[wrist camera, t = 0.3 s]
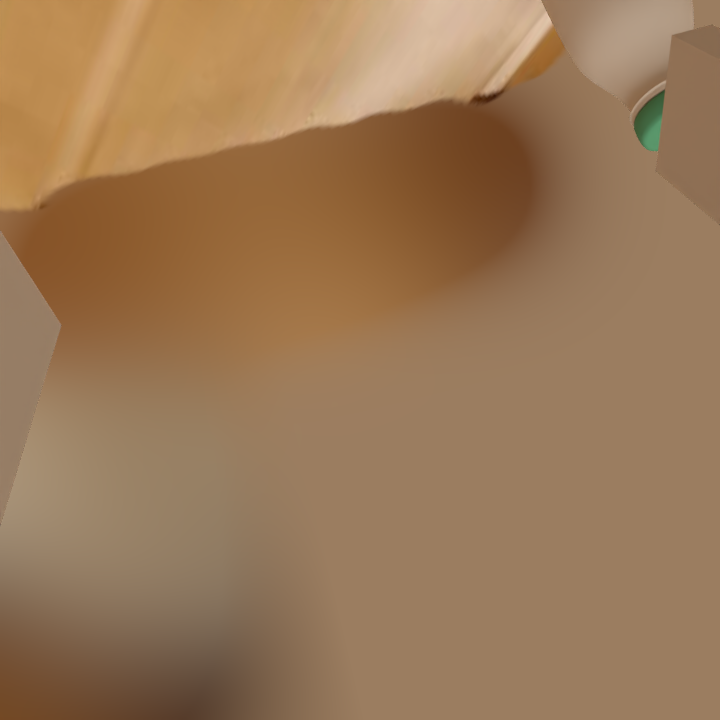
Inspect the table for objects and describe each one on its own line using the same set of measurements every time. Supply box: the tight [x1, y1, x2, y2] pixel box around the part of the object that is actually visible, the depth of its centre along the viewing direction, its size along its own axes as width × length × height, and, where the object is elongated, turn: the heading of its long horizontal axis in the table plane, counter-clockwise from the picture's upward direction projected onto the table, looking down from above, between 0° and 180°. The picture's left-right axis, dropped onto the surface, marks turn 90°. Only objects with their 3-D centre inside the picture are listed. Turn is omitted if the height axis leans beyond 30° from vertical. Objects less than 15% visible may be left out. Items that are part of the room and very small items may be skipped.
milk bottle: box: [541, 0, 694, 151], centre depth 42 cm, size 8×8×20 cm
